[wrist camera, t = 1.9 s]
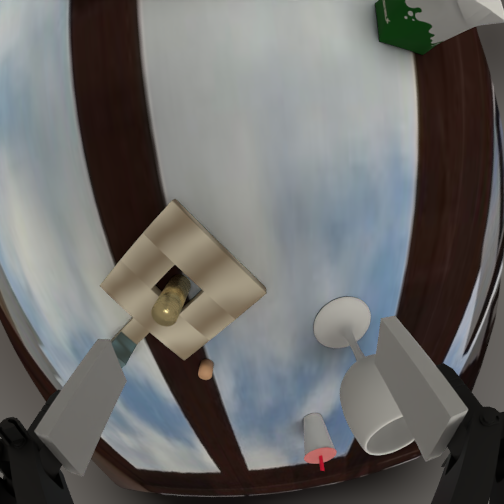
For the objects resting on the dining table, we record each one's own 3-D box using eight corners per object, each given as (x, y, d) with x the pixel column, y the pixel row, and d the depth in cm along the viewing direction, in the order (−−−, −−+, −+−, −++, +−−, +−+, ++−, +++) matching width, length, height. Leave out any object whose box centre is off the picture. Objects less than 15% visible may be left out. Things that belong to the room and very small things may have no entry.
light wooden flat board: (80, 312, 39) (61, 333, 33) (175, 198, 34) (159, 207, 28) (156, 377, 43) (146, 404, 37) (265, 287, 38) (268, 312, 32)
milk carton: (368, -3, 25) (434, -77, 6) (422, 15, 26) (502, -34, 7) (373, 45, 28) (460, -20, 9) (428, 63, 28) (526, 27, 9)
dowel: (197, 363, 42) (195, 374, 39) (206, 356, 41) (204, 367, 39) (207, 370, 42) (205, 381, 40) (216, 364, 42) (214, 375, 39)
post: (164, 284, 38) (146, 313, 30) (178, 269, 37) (162, 297, 30) (180, 299, 38) (166, 331, 31) (195, 285, 38) (183, 316, 30)
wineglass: (377, 299, 39) (454, 398, 19) (359, 348, 41) (410, 454, 21) (322, 292, 38) (378, 407, 18) (306, 345, 41) (338, 465, 21)
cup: (305, 430, 47) (314, 480, 36) (292, 417, 46) (300, 470, 35) (331, 419, 46) (344, 469, 35) (319, 405, 45) (332, 458, 34)
